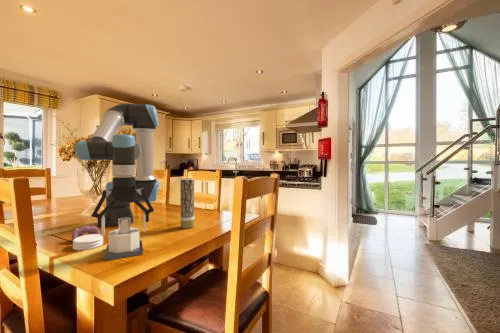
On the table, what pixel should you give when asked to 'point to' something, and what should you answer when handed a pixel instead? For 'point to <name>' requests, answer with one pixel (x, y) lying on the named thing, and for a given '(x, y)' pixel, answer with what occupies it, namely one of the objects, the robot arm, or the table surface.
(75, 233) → the purple curved piece
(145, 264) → the table surface
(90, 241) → the coaster
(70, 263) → the table surface
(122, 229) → the post stand
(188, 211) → the paper tube
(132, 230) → the ring
